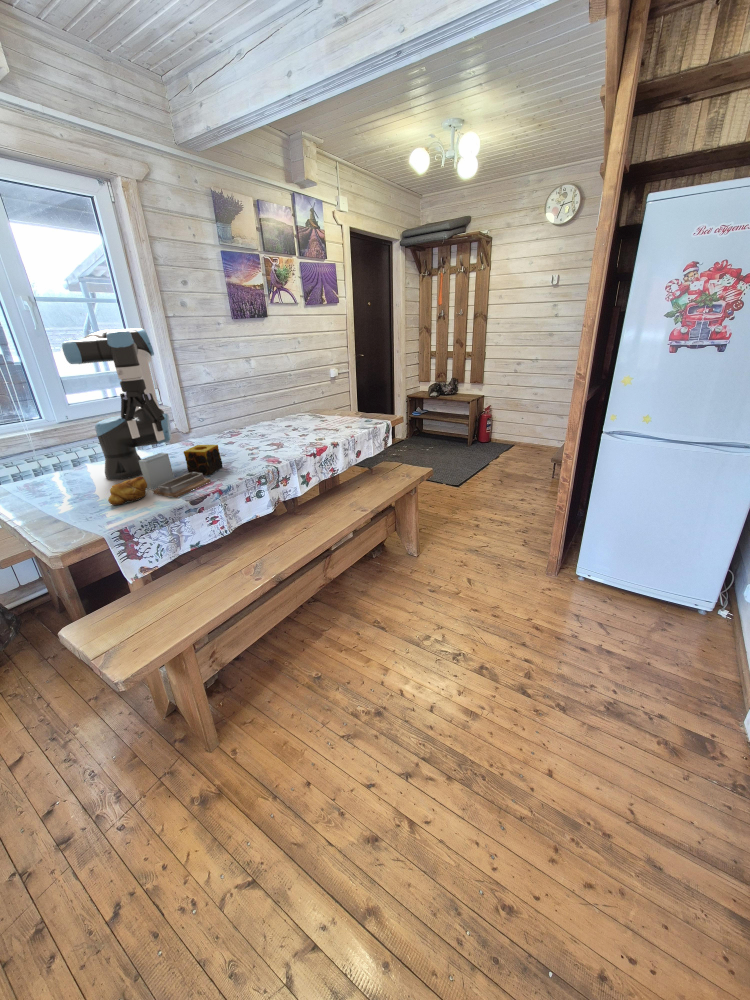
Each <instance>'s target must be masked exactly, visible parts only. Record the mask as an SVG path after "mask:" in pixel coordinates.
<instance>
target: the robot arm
mask: <svg viewBox="0 0 750 1000" xmlns="http://www.w3.org/2000/svg"><path fill="white" fill-rule="evenodd" d="M61 347H62V352H63V355H64V358H65V360H66V362H68V363H69V364H70V365H82V364H93V363H103V362H113V363H114V368H115V369H116V373H117V378H118V380H120V382H119V385H120V388H121V390H122V392H123V393H120V394H119V395H120V400H121V401H120V402H121V403H120V415H116V416H112V417H108V418H105V419H103V420H102V419H101V420H100V421H98V422H96V423H95V425H94V429H95V432H96V437H97V438H98V442H99V445H100V448H101V450H102V454H103V457H104V475H105V478H106V479H107V480H111V481H117V480H118V481H119V480H126V479H127V480H128V479H131V478H134V477H135V478H136V477H139V476H140V475H143V474H142V471H141V468H140V464H139V460H142V459H143V458H141V457H140V455H139V454H138V451H137V449H136V448H137V447H139V448H140V447H145V446H153V445H161V444H163V443H169V442H170V441H171V439H172V428H171V420H170V416H169V414H168V413H165V412H164V409H162V408H160V407H159V401H158V398H157V393H156V389H155V385H154V381H153V376H152V372H151V367H150V364H149V363H150V362H151V361H152V357H154V355H155V353H154V349H153V346H152V343H151V340H150V338H149V335H148V333H147V331H146V330H145V329H144V328H137V327H136V328H135V327H132V328H121V329H119V328H117V329H103V330H99V331H96V332H92V333H90V334H87V335H86V336H84V337H83V339H79V340H78V339H77V340H68V341H63V342H62V344H61Z"/></svg>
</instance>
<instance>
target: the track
mask: <svg viewBox="0 0 750 1000" xmlns="http://www.w3.org/2000/svg"><path fill="white" fill-rule="evenodd" d="M174 478H175V479H172V480H170V481H168V482H165V483H163V484H160V485H158V486H159V487H158V488H155V489H152V493H153V495H159V496H162V497H163V496H164V497H170V498H175V499H179V497H182V496H184V495H186V494H188V492H189V493H191V492H192V491H191V490H193V489H195V490H196V488H197V489H199V488H201V487H203V486H202V485H204V484H206V483H208V484H210V483H212V480H211V478H208V477H207V478H206V477H204V475H203V473H198V472H192V473H190V472H189V473H188V472H187V473H185V474H182V475H180V476H178V477H174ZM209 482H210V483H209ZM206 485H207V484H206ZM200 486H201V487H200ZM204 486H205V485H204ZM198 487H199V488H198ZM190 491H191V492H190ZM193 491H194V490H193Z"/></svg>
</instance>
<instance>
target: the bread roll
mask: <svg viewBox="0 0 750 1000" xmlns="http://www.w3.org/2000/svg"><path fill="white" fill-rule="evenodd" d="M109 493H110V495H109V496H108V503H109V504H110V505H112V506H120V505H124V504H126V503H128V502H129V503H130V502H136V501H138V500H141V499H143V498H144V497H145V496H146V494H147V483H146V480H145V479H144V477H143V476H136V477H135V478H134V477H133V478H132V479H127V480H124V481H123V482H120V483H116V484H113V485H111V487H110V489H109Z"/></svg>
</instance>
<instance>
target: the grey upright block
mask: <svg viewBox="0 0 750 1000" xmlns="http://www.w3.org/2000/svg"><path fill="white" fill-rule="evenodd" d="M141 459H142V460H139V464H140V468H141V471H142V474H141V475H142V477H144V479H145V480H146V483H147V488H146V490H148V489H149V490H156V489H158V487H159V486H158V485H160V484H163V483H165V482H168V481H170V480H172V479H175V478H176V477H175V475H174V472H173V467H172V464H171V459H170V457H169V453H167V452H159V453H157V454H153V455H151V456H148V457H144V458H141Z"/></svg>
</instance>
